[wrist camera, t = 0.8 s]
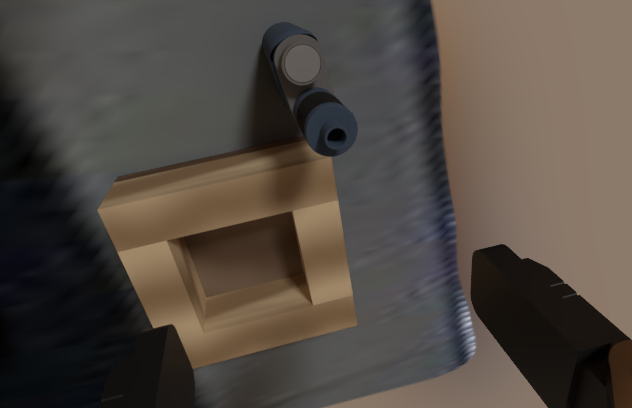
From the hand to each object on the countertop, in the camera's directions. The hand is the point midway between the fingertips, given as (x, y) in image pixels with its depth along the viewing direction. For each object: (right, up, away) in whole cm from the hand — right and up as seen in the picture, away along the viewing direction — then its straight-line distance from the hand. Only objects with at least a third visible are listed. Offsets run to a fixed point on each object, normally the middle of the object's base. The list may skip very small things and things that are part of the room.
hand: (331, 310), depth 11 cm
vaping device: (-2, +12, +16) cm, 21 cm away
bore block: (-6, 0, +21) cm, 22 cm away
